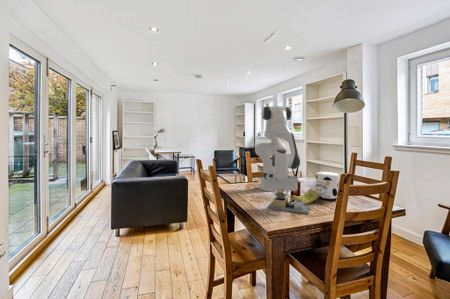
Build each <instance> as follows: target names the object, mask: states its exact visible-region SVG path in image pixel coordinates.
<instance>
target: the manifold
mask: <svg viewBox="0 0 450 299" xmlns="http://www.w3.org/2000/svg"><path fill="white" fill-rule="evenodd" d="M267 209H270V210H275V211H283V212H288V213H289V212H291V213H295V214H296V213H297V214H303V215H309V212H310V209H311V205H304V201H303V200H295V201H294V202H291V201H289V198H288V197H284V201H283V200H277V196H275V197H274V198H273V199H272V201H271V202H270V204H268V206H267Z"/></svg>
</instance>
